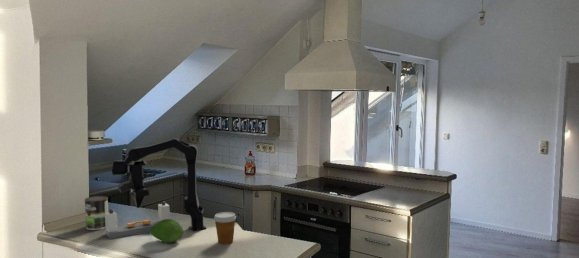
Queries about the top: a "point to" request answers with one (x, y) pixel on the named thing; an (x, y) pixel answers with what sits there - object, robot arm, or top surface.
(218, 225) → the disposable coffee cup
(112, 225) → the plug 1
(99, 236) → the top surface
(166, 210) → the plug
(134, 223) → the orange dumbbell
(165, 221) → the fruit
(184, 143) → the robot arm
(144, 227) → the grey board
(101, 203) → the coffee can
